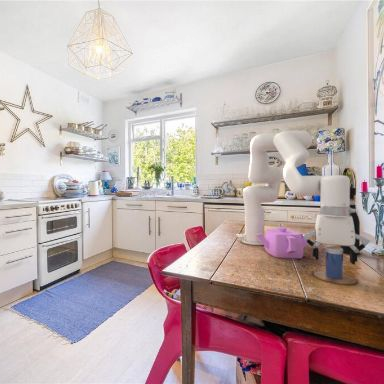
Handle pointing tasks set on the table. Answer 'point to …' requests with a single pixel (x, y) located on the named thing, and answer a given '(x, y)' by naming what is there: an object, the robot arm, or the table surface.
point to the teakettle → (283, 243)
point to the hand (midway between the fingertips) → (333, 260)
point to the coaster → (346, 279)
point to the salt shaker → (334, 263)
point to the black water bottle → (355, 220)
